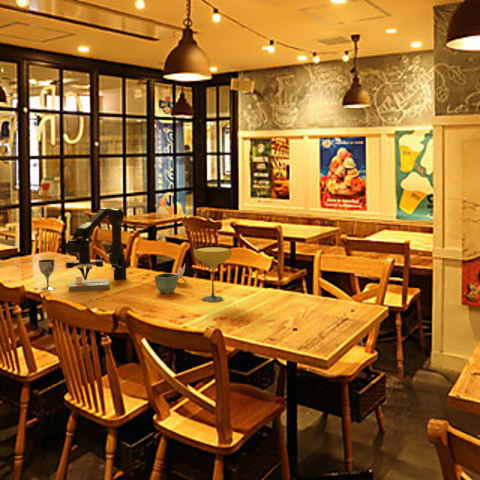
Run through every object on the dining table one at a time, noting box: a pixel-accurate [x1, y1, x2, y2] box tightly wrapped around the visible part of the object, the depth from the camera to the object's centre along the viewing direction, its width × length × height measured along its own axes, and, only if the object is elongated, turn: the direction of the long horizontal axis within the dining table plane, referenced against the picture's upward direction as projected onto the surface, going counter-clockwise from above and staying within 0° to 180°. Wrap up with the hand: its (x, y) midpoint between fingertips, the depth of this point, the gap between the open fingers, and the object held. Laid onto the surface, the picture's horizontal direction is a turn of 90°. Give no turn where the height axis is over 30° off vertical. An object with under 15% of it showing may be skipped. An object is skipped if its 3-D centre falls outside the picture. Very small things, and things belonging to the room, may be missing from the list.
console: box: [68, 278, 110, 293], centre depth 296 cm, size 20×14×3 cm
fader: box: [75, 274, 83, 284], centre depth 295 cm, size 3×5×5 cm, turn 15°
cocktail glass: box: [193, 245, 232, 303], centre depth 271 cm, size 18×18×25 cm
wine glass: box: [38, 258, 56, 291], centre depth 292 cm, size 8×8×15 cm
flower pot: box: [154, 272, 179, 295], centre depth 286 cm, size 9×9×9 cm
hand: (85, 280), depth 295 cm, fingers closed
